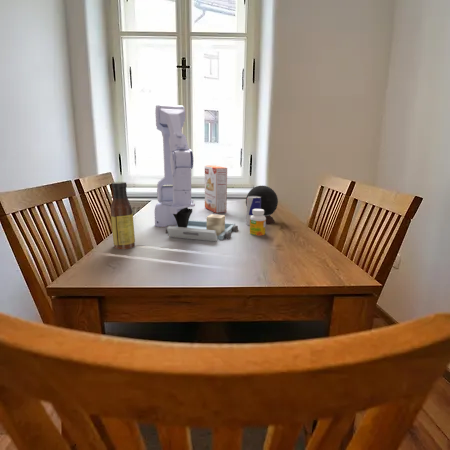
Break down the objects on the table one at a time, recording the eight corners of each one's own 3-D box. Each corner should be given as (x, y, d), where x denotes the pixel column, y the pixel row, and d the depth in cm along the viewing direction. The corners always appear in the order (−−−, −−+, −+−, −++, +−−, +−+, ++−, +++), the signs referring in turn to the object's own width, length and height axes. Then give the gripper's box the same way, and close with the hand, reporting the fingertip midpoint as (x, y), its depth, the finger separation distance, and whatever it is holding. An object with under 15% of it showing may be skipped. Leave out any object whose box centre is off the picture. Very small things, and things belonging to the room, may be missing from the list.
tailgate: (170, 240, 112) (166, 229, 109) (171, 236, 113) (168, 226, 110) (216, 244, 108) (214, 233, 105) (217, 241, 109) (215, 230, 106)
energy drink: (259, 229, 128) (260, 198, 126) (245, 228, 129) (246, 197, 127) (260, 226, 133) (262, 196, 131) (247, 225, 134) (248, 195, 132)
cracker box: (203, 208, 169) (204, 165, 164) (215, 207, 171) (215, 165, 166) (215, 213, 156) (215, 167, 152) (226, 212, 159) (227, 167, 154)
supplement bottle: (247, 238, 117) (248, 210, 114) (251, 234, 122) (252, 207, 119) (262, 240, 115) (264, 211, 113) (266, 236, 120) (267, 209, 118)
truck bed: (162, 239, 113) (161, 230, 112) (183, 227, 130) (182, 218, 129) (225, 245, 108) (226, 236, 107) (239, 232, 124) (239, 223, 124)
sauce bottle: (139, 246, 105) (136, 181, 100) (127, 252, 99) (123, 184, 95) (121, 244, 107) (117, 180, 102) (108, 249, 101) (104, 182, 97)
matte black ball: (261, 226, 133) (263, 188, 130) (238, 220, 143) (239, 184, 139) (283, 222, 142) (285, 186, 138) (260, 216, 151) (261, 183, 148)
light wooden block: (206, 234, 115) (206, 217, 114) (211, 231, 120) (211, 214, 118) (220, 235, 114) (221, 218, 112) (224, 232, 118) (225, 215, 117)
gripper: (185, 193, 99) (185, 238, 102) (201, 187, 112) (201, 227, 116) (162, 192, 101) (164, 236, 104) (181, 186, 114) (182, 225, 117)
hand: (182, 231), depth 110 cm, fingers closed, pressing on tailgate
